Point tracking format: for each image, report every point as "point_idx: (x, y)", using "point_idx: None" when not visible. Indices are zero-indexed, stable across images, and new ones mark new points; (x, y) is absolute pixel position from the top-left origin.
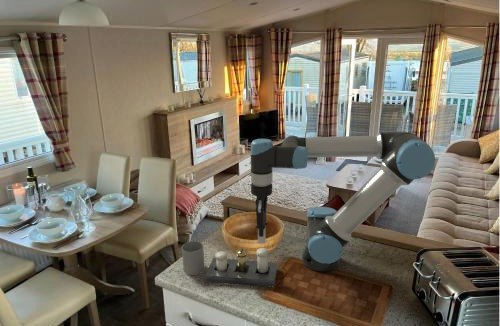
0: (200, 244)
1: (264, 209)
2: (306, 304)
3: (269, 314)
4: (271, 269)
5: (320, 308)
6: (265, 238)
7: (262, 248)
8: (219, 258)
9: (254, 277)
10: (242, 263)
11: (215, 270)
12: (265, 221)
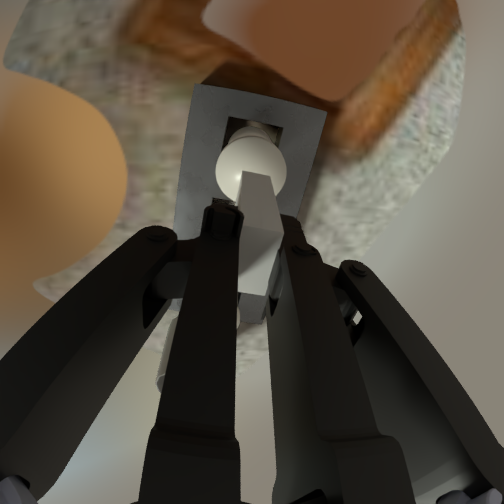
0: (162, 370)
1: (394, 480)
2: (410, 38)
3: (430, 152)
4: (247, 111)
5: (426, 11)
6: (246, 179)
7: (220, 171)
8: (239, 322)
9: (296, 183)
10: None
11: (239, 302)
12: (202, 243)
